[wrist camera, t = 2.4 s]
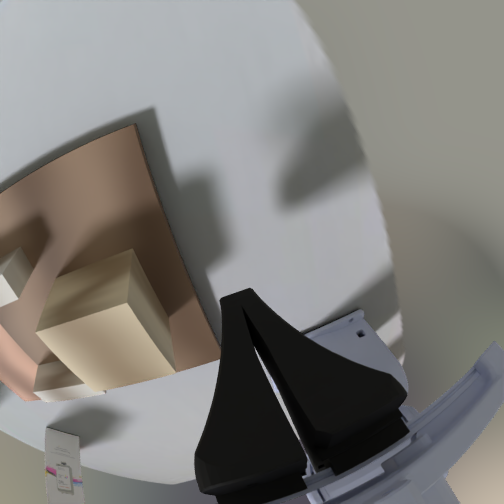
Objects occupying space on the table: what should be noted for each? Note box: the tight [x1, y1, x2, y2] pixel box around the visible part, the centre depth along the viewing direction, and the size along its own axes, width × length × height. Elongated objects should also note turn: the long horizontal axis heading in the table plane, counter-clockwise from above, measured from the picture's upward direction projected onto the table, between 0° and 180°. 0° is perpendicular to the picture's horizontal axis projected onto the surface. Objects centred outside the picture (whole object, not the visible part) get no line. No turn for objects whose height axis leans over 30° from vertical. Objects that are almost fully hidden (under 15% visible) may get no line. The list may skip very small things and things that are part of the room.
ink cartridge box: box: [45, 428, 85, 504], centre depth 16 cm, size 9×5×15 cm, turn 145°
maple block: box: [35, 249, 176, 392], centre depth 12 cm, size 5×5×4 cm
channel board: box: [0, 123, 221, 403], centre depth 12 cm, size 21×16×4 cm
